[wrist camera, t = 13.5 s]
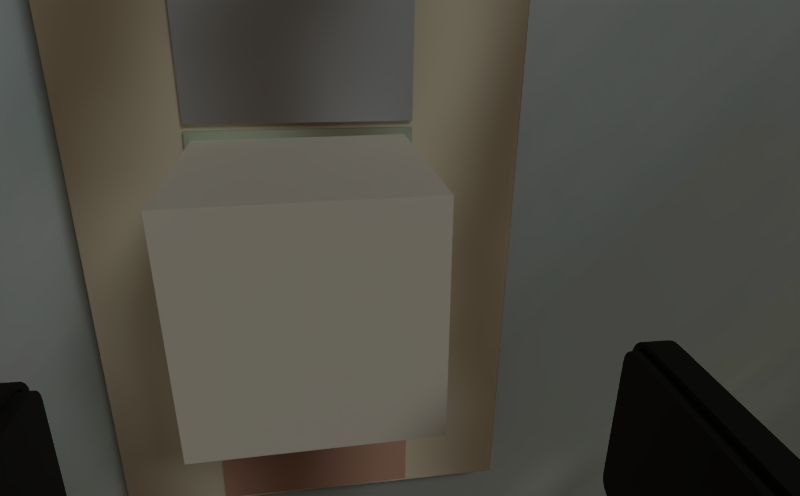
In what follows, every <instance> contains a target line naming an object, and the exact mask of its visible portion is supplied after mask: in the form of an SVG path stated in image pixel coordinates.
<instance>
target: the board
mask: <svg viewBox="0 0 800 496" xmlns="http://www.w3.org/2000/svg"><path fill="white" fill-rule="evenodd" d="M29 4H30V9H31V14H32V19H33V23H34V28H35V33H36V38H37V43H38V48H39V53H40V58H41V63H42V68H43V73H44V78H45V83H46V88H47V93H48V98H49V103H50V108H51V113H52V118H53V123H54V128H55V133H56V138H57V143H58V148H59V153H60V158H61V163H62V168H63V173H64V178H65V183H66V188H67V192H68V197H69V202H70V207H71V212H72V217H73V222H74V227H75V232H76V237H77V242H78V247H79V252H80V257H81V262H82V267H83V272H84V277H85V282H86V287H87V292H88V297H89V302H90V307H91V312H92V317H93V322H94V327H95V332H96V337H97V342H98V347H99V352H100V357H101V362H102V366H103V371H104V376H105V381H106V386H107V391H108V396H109V401H110V406H111V411H112V416H113V421H114V426H115V431H116V436H117V441H118V446H119V451H120V456H121V461H122V466H123V471H124V476H125V481H126V486H127V491H128V496H256V495H265V494H274V493H283V492H293V491H302V490H311V489H320V488H329V487H339V486H348V485H357V484H366V483H375V482H385V481H394V480H403V479H412V478H421V477H431V476H440V475H449V474H458V473H467V472H477V471H486V470H489V469H490V458H491V446H492V434H493V423H494V411H495V400H496V388H497V376H498V365H499V353H500V342H501V330H502V318H503V307H504V295H505V284H506V272H507V260H508V249H509V237H510V226H511V214H512V202H513V191H514V179H515V168H516V156H517V144H518V133H519V121H520V110H521V98H522V86H523V75H524V63H525V52H526V40H527V28H528V17H529V5H530V0H29ZM387 134H405V135H406V137H407V138H408V139H409V140H410V142H411V143H412V144H413V145H414V146H415V148H416V149H417V150H418V151H419V153H420V154H421V155H422V156H423V157H424V159H425V160H426V161H427V162H428V164H429V165H430V166H431V167H432V169H433V170H434V171H435V172H436V173H437V175H438V176H439V177H440V178H441V180H442V181H443V182H444V183H445V184H446V186H447V187H448V188H449V189H450V191H451V192H452V193H453V194H454V209H453V239H452V268H451V298H450V328H449V358H448V388H447V418H446V436H438V437H429V438H420V439H411V440H402V441H393V442H384V443H375V444H366V445H357V446H348V447H339V448H330V449H321V450H312V451H303V452H293V453H284V454H275V455H266V456H257V457H248V458H239V459H230V460H221V461H212V462H203V463H194V464H184V458H183V452H182V446H181V440H180V434H179V429H178V423H177V417H176V411H175V405H174V399H173V394H172V388H171V382H170V376H169V370H168V364H167V359H166V353H165V347H164V341H163V335H162V329H161V324H160V318H159V312H158V306H157V300H156V294H155V289H154V283H153V277H152V271H151V265H150V259H149V254H148V248H147V242H146V236H145V230H144V224H143V219H142V213H141V210H142V209H143V207H144V206H145V205H146V203H147V202H148V200H149V199H150V198H151V196H152V195H153V193H154V192H155V190H156V189H157V188H158V186H159V185H160V183H161V182H162V181H163V179H164V178H165V176H166V175H167V174H168V172H169V171H170V169H171V168H172V166H173V165H174V164H175V162H176V161H177V159H178V158H179V157H180V155H181V154H182V152H183V151H184V150H185V148H186V147H187V145H188V144H189V142H190V141H217V140H245V139H273V138H302V137H330V136H358V135H387Z"/></svg>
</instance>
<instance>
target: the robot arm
mask: <svg viewBox="0 0 800 496" xmlns="http://www.w3.org/2000/svg"><path fill="white" fill-rule="evenodd" d="M603 483H604V488H605V491H606V494H607V496H800V459H799V458H798V457H797V456H796V455H794V454H793V453H792V452H791V451H790V450H789V449H788V448H787V447H786V446H785V445H784V444H783V443H782V442H781V441H780V440H779V439H778V438H777V437H775V436H774V435H773V434H772V433H771V432H770V431H769V430H768V429H767V428H766V427H765V426H764V425H763V424H762V423H761V422H760V421H759V420H758V419H756V418H755V417H754V416H753V415H752V414H751V413H750V412H749V411H748V410H747V409H746V408H745V407H744V406H743V405H742V404H741V403H740V402H738V401H737V400H736V399H735V398H734V397H733V396H732V395H731V394H730V393H729V392H728V391H727V390H726V389H725V388H724V387H723V386H722V385H721V384H719V383H718V382H717V381H716V380H715V379H714V378H713V377H712V376H711V375H710V374H709V373H708V372H707V371H706V370H705V369H704V368H703V367H702V366H700V365H699V364H698V363H697V362H696V361H695V360H694V359H693V358H692V357H691V356H690V355H689V354H688V353H687V352H686V351H685V350H684V349H683V348H681V347H680V346H679V345H678V344H677V343H676V342H674V341H669V340H668V341H652V342H639V343H638V344H636V345H635V347H634V348H633V351H630V352H628V353H627V354H626V355H625V357H624V361H623V367H622V372H621V378H620V384H619V389H618V395H617V400H616V406H615V412H614V417H613V423H612V428H611V434H610V440H609V445H608V451H607V456H606V462H605V468H604V473H603ZM0 496H67V495H66V491H65V487H64V483H63V479H62V475H61V471H60V467H59V464H58V460H57V456H56V452H55V448H54V444H53V440H52V436H51V432H50V428H49V424H48V420H47V416H46V412H45V408H44V404H43V400H42V397H41V395H40V393H39V392H38V391H29V388H28V387H27V385H26V384H25V383H23V382H10V383H0Z"/></svg>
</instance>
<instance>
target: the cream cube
mask: <svg viewBox="0 0 800 496" xmlns="http://www.w3.org/2000/svg"><path fill="white" fill-rule="evenodd" d="M453 209H454V194H453V193H452V192H451V191H450V189H449V188H448V187H447V186H446V184H445V183H444V182H443V181H442V180H441V178H440V177H439V176H438V175H437V173H436V172H435V171H434V170H433V169H432V167H431V166H430V165H429V164H428V162H427V161H426V160H425V159H424V157H423V156H422V155H421V154H420V153H419V151H418V150H417V149H416V148H415V146H414V145H413V144H412V143H411V142H410V140H409V139H408V138H407V137H406V135H405V134H387V135H358V136H330V137H302V138H273V139H245V140H217V141H190V142H189V144H188V145H187V147H186V148H185V150H184V151H183V152H182V154H181V155H180V157H179V158H178V159H177V161H176V162H175V164H174V165H173V166H172V168H171V169H170V171H169V172H168V174H167V175H166V176H165V178H164V179H163V181H162V182H161V183H160V185H159V186H158V188H157V189H156V190H155V192H154V193H153V195H152V196H151V198H150V199H149V200H148V202H147V203H146V205H145V206H144V207H143V209H142V210H141V213H142V219H143V224H144V230H145V236H146V242H147V248H148V254H149V259H150V265H151V271H152V277H153V283H154V289H155V294H156V300H157V306H158V312H159V318H160V324H161V329H162V335H163V341H164V347H165V353H166V359H167V364H168V370H169V376H170V382H171V388H172V394H173V399H174V405H175V411H176V417H177V423H178V429H179V434H180V440H181V446H182V452H183V458H184V464H194V463H203V462H212V461H221V460H230V459H239V458H248V457H257V456H266V455H275V454H284V453H293V452H303V451H312V450H321V449H330V448H339V447H348V446H357V445H366V444H375V443H384V442H393V441H402V440H411V439H420V438H429V437H438V436H446V418H447V388H448V358H449V328H450V298H451V268H452V239H453Z"/></svg>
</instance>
